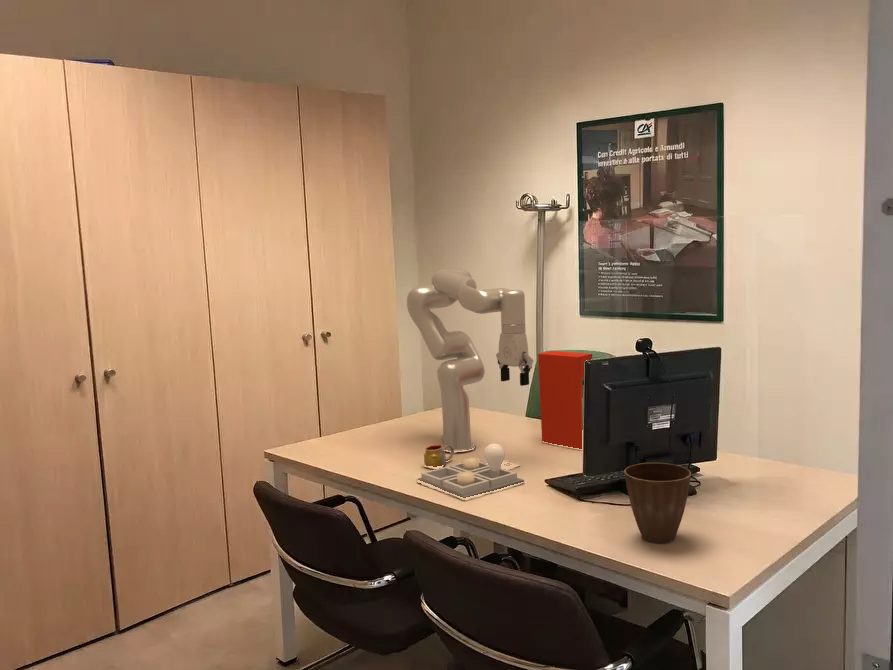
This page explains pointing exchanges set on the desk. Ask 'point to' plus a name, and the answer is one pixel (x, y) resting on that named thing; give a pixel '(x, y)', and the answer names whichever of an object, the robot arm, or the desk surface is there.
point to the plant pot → (657, 498)
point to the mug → (436, 455)
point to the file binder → (562, 397)
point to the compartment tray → (469, 478)
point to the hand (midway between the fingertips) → (514, 382)
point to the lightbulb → (494, 458)
